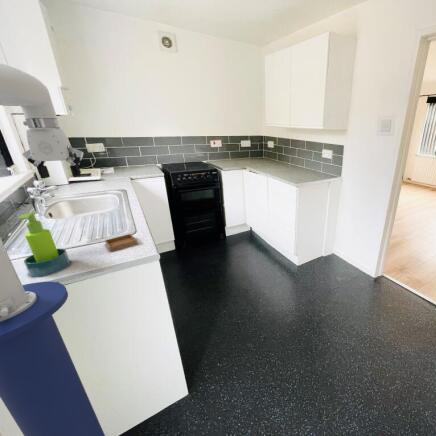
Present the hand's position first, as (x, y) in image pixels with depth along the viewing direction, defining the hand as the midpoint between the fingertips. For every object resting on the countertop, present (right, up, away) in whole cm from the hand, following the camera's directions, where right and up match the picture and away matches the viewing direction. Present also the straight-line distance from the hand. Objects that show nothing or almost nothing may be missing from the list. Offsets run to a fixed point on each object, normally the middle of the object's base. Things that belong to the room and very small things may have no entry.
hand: (61, 177), depth 85 cm
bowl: (-5, -32, +1) cm, 32 cm away
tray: (+8, -26, +18) cm, 32 cm away
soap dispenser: (-5, -32, +1) cm, 32 cm away
